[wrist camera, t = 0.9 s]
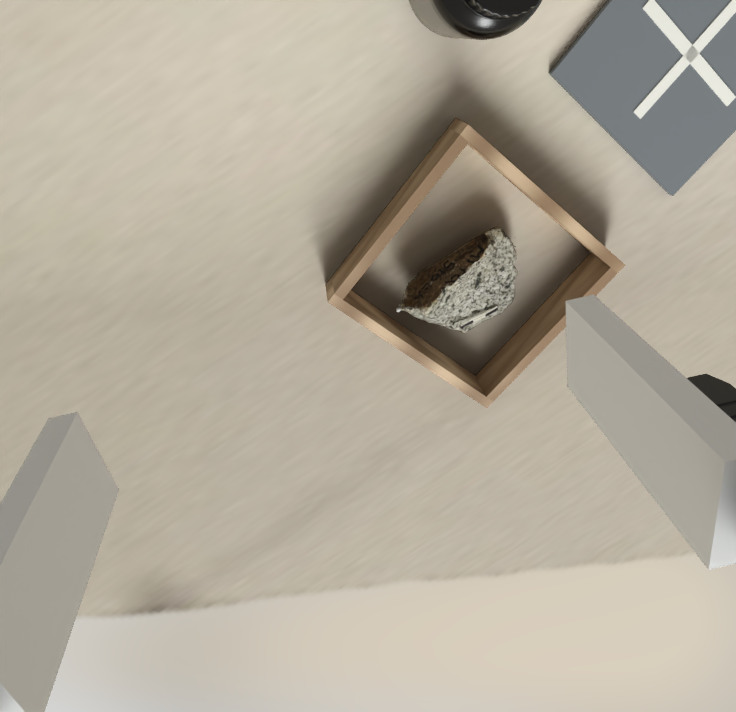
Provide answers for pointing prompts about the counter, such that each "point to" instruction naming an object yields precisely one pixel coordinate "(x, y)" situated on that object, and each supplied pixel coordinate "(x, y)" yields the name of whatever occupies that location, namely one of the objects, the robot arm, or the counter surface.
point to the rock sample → (465, 284)
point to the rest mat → (658, 80)
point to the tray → (536, 328)
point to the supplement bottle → (474, 16)
